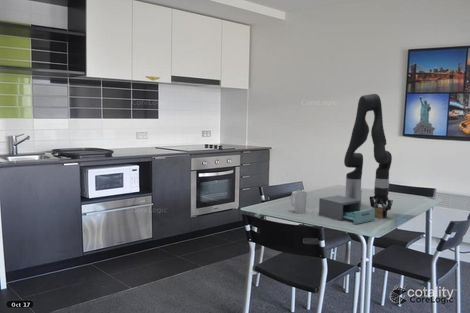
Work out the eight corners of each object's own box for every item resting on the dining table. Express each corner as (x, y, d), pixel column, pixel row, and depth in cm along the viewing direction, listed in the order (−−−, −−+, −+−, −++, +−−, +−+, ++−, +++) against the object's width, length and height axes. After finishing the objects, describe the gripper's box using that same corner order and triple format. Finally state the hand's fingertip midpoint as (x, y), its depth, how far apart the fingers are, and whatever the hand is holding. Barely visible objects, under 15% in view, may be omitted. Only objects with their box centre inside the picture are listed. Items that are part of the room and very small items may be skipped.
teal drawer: (350, 214, 243) (351, 203, 242) (375, 220, 230) (375, 208, 229) (331, 217, 234) (332, 206, 233) (356, 224, 221) (356, 212, 220)
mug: (308, 212, 248) (308, 191, 247) (302, 214, 243) (303, 193, 241) (293, 209, 254) (293, 189, 253) (287, 211, 249) (287, 191, 247)
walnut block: (378, 215, 242) (379, 206, 242) (386, 217, 238) (387, 208, 238) (373, 216, 239) (373, 207, 239) (381, 218, 235) (381, 209, 235)
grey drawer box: (337, 211, 251) (338, 195, 250) (359, 216, 238) (360, 200, 237) (318, 214, 242) (319, 198, 241) (341, 220, 229) (341, 203, 228)
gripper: (397, 187, 234) (395, 218, 235) (374, 184, 245) (373, 212, 247) (388, 189, 229) (387, 219, 231) (366, 185, 241) (365, 214, 242)
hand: (380, 216), depth 239 cm, fingers closed on walnut block, 5 cm apart
